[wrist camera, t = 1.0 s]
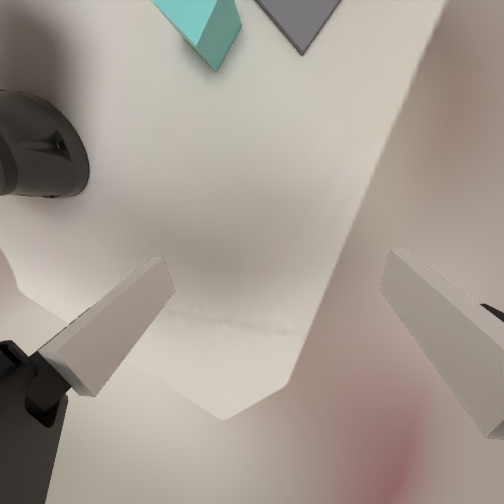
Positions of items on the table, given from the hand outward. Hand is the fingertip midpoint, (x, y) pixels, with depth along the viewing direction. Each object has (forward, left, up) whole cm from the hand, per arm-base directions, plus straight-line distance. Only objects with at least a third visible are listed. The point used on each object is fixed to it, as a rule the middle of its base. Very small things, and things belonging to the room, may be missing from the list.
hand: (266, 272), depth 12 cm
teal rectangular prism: (-19, +9, -22) cm, 30 cm away
